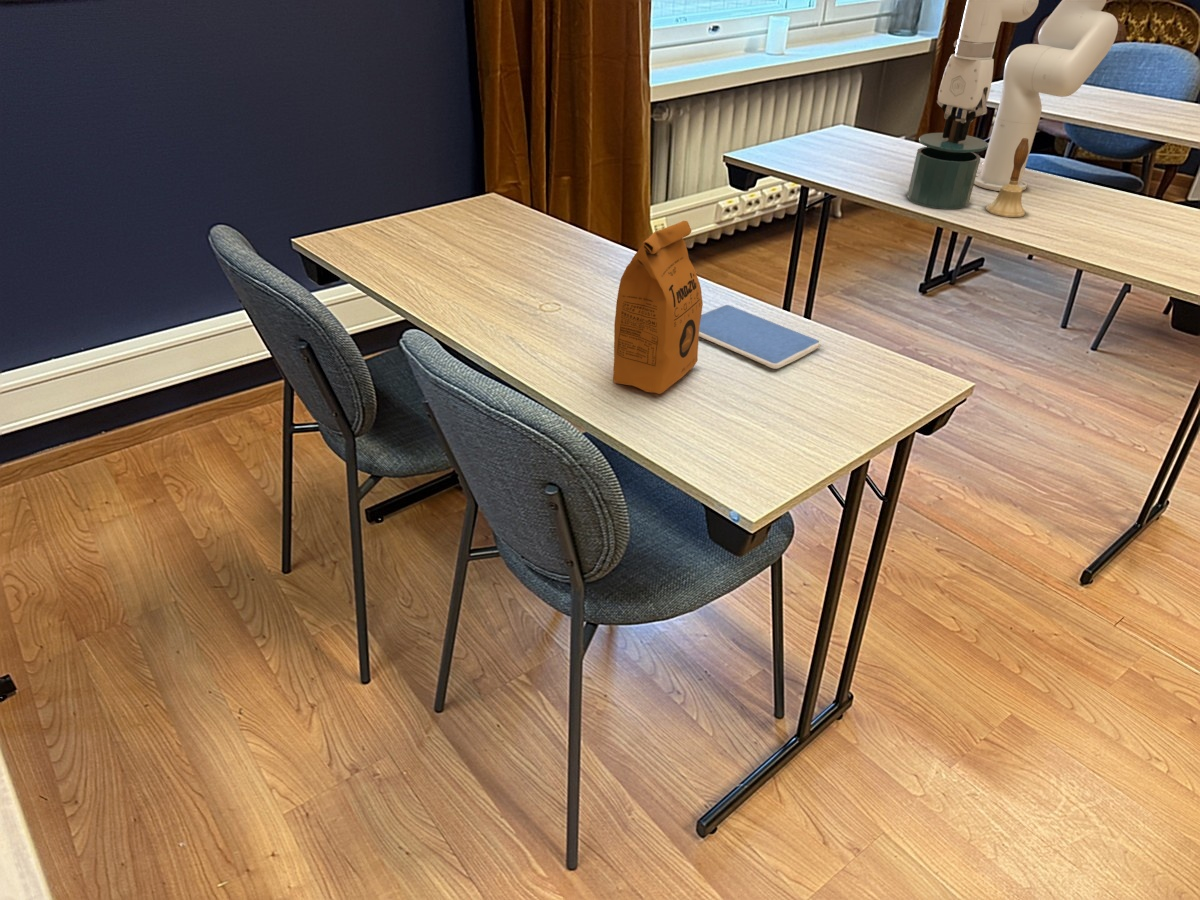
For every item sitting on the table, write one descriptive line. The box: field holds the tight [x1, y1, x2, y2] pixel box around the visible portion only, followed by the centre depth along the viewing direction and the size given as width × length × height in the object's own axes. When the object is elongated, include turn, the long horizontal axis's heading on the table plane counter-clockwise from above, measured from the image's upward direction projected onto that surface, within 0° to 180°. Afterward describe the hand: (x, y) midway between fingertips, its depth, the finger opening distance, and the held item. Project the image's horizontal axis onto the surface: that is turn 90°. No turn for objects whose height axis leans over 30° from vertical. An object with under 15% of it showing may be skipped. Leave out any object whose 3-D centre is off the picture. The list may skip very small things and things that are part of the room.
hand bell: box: [985, 138, 1029, 218], centre depth 190 cm, size 8×8×16 cm
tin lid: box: [918, 118, 989, 153], centre depth 192 cm, size 15×15×6 cm
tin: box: [906, 146, 981, 210], centre depth 198 cm, size 14×14×10 cm
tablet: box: [699, 304, 822, 369], centre depth 135 cm, size 19×13×1 cm, turn 44°
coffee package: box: [612, 220, 704, 394], centre depth 119 cm, size 10×12×22 cm
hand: (953, 138), depth 193 cm, fingers closed on tin lid, 2 cm apart
